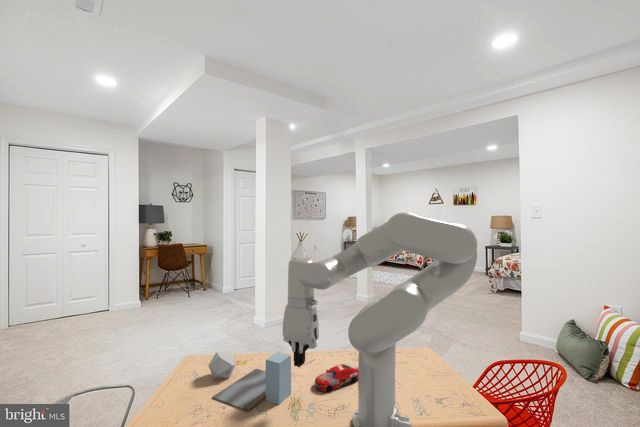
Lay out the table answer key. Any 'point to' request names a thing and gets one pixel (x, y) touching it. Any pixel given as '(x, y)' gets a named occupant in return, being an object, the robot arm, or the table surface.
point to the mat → (245, 391)
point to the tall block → (278, 377)
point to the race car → (336, 377)
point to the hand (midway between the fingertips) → (299, 364)
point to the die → (222, 365)
